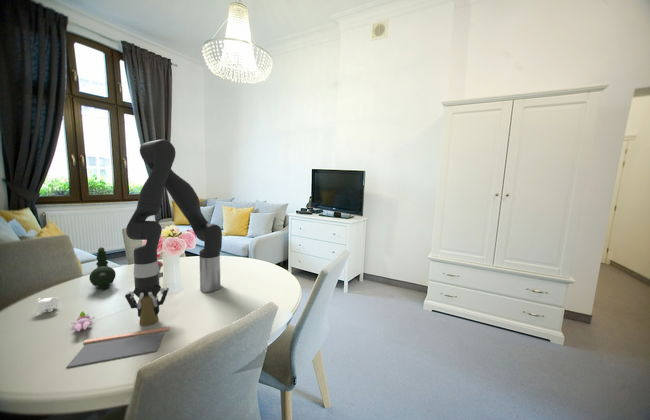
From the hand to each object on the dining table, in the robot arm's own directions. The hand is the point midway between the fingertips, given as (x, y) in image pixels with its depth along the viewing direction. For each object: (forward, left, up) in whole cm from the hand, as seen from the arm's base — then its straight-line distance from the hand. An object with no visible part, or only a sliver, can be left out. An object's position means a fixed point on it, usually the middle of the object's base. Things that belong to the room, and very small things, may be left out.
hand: (148, 315), depth 95 cm
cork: (0, 0, -2) cm, 2 cm away
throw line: (+4, +8, -2) cm, 9 cm away
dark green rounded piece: (+30, -43, -3) cm, 52 cm away
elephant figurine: (+39, -20, -3) cm, 44 cm away
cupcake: (+11, -54, -3) cm, 55 cm away
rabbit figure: (+21, -2, -3) cm, 21 cm away
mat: (+4, +15, -2) cm, 16 cm away
